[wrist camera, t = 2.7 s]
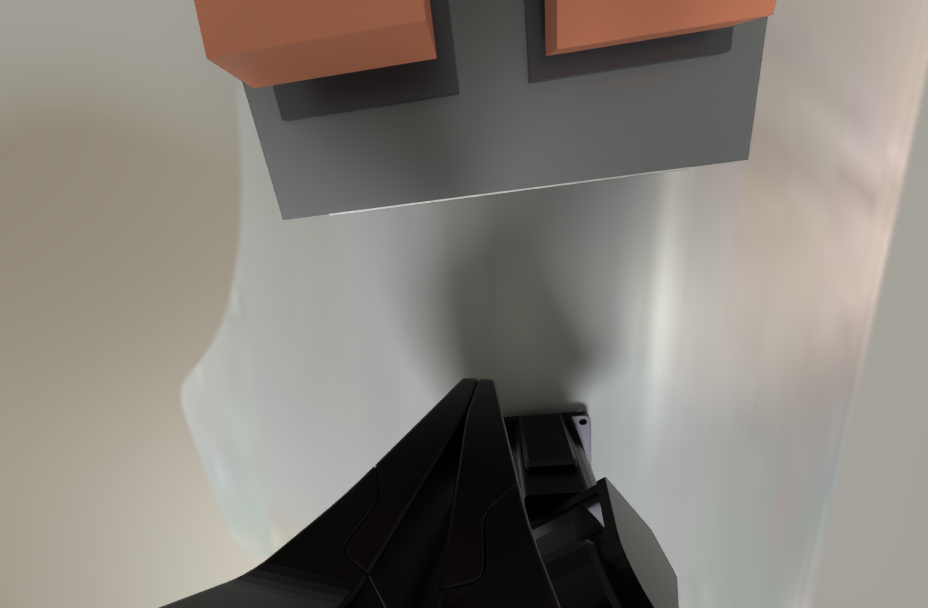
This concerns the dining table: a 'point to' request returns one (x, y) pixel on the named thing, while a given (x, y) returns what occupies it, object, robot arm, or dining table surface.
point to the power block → (506, 113)
